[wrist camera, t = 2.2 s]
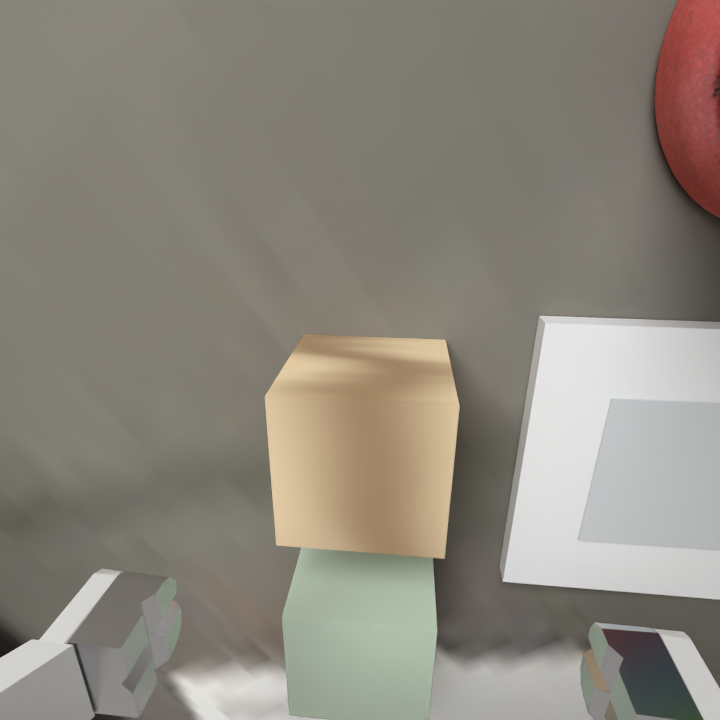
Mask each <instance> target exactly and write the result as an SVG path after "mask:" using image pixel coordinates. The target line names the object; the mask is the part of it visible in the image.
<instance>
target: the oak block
mask: <svg viewBox="0 0 720 720" xmlns="http://www.w3.org/2000/svg"><path fill="white" fill-rule="evenodd" d="M265 406H266V419H267V432H268V444H269V457H270V470H271V483H272V495H273V508H274V521H275V534H276V545H278V546H290V547H303V548H316V549H328V550H341V551H354V552H366V553H379V554H392V555H404V556H417V557H430V558H442V559H445V549H446V539H447V529H448V519H449V508H450V498H451V488H452V478H453V468H454V458H455V448H456V438H457V428H458V417H459V407H460V406H459V401H458V397H457V392H456V387H455V382H454V378H453V373H452V368H451V363H450V359H449V354H448V349H447V344H446V340H434V339H408V338H382V337H356V336H331V335H305V334H304V335H303V337H302V338H301V340H300V341H299V343H298V345H297V346H296V348H295V349H294V351H293V352H292V354H291V356H290V357H289V359H288V360H287V362H286V364H285V365H284V367H283V368H282V370H281V372H280V373H279V375H278V376H277V378H276V379H275V381H274V383H273V384H272V386H271V387H270V389H269V391H268V392H267V394H266V395H265Z"/></svg>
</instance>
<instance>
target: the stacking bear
mask: <svg viewBox="0 0 720 720" xmlns="http://www.w3.org/2000/svg"><path fill="white" fill-rule="evenodd" d="M655 113H656V123H657V131H658V135H659V139H660V143H661V146H662V149H663V152H664V154H665V157H666V159H667V162H668V164H669V166H670V168H671V170H672V172H673V174H674V175H675V177H676V178H677V180H678V181H679V183H680V184H681V186H682V187H683V188H684V189H685V190H686V192H687V193H688V194H689V195H690V197H691V198H693V199H694V200H695V201H696V202H697V203H698V204H700V205H701V206H702V207H703V208H704V209H705V210H707V211H708V212H710V213H712V214H713V215H715V216H717V217H719V218H720V0H678V2H677V4H676V6H675V9H674V11H673V13H672V16H671V19H670V22H669V25H668V28H667V31H666V34H665V37H664V40H663V44H662V47H661V50H660V56H659V62H658V67H657V73H656V84H655Z"/></svg>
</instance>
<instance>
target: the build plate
mask: <svg viewBox="0 0 720 720" xmlns="http://www.w3.org/2000/svg"><path fill="white" fill-rule="evenodd" d="M499 567H500V571H501V576H502V580H503V582H512V583H524V584H536V585H548V586H560V587H573V588H585V589H597V590H609V591H622V592H634V593H646V594H658V595H671V596H683V597H695V598H707V599H719V600H720V322H706V321H677V320H648V319H619V318H589V317H560V316H539V319H538V325H537V332H536V338H535V344H534V351H533V357H532V363H531V370H530V376H529V382H528V389H527V395H526V401H525V408H524V414H523V420H522V427H521V433H520V439H519V446H518V452H517V458H516V464H515V471H514V477H513V483H512V490H511V496H510V502H509V509H508V515H507V521H506V528H505V534H504V540H503V547H502V553H501V559H500V566H499Z"/></svg>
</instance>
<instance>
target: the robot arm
mask: <svg viewBox="0 0 720 720" xmlns="http://www.w3.org/2000/svg"><path fill="white" fill-rule="evenodd" d="M176 593H177V587H176V583H175V579H174V578H170V577H163V576H155V575H148V574H141V573H134V572H126V571H117V570H109V569H101V570H99V571H98V572H96V573H94V574H93V575H92V576H91V578H90V579H89V580H88V581H87V582H86V584H85V585H84V586H83V587H82V589H81V590H80V591H79V592H78V593H77V595H76V596H75V597H74V598H73V599H72V601H71V602H70V603H69V604H68V605H67V607H66V608H65V609H64V610H63V612H62V613H61V614H60V615H59V616H58V618H57V619H56V620H55V621H54V622H53V624H52V625H51V626H50V627H49V628H48V630H47V631H46V632H45V633H44V635H43V636H42V637H41V638H40V639H39V640H34V639H31V640H30V641H28V642H26V643H25V644H23V645H21V646H20V647H18V648H16V649H15V650H13V651H11V652H10V653H8V654H6V655H5V656H3V657H1V658H0V720H91V719H92V718H93V717H94V716H95V714H94V713H99V714H108V715H117V716H126V717H135V718H139V716H140V714H141V712H142V710H143V708H144V706H145V705H146V703H147V701H148V699H149V697H150V695H151V693H152V691H153V689H154V687H155V686H156V684H157V682H158V681H157V674H156V669H157V668H158V667H159V666H161V665H162V664H163V663H165V662H166V661H167V660H169V659H170V657H171V655H172V653H173V651H174V649H175V647H176V644H177V641H178V638H179V634H180V631H181V623H182V614H181V608H180V606H179V605H178V604H177V603H176V602H175V601H174V600H173V598H174V596H175V594H176ZM588 638H589V641H590V644H591V647H592V648H591V649H590V650H588V651H587V652H585V653H584V654H583V658H582V663H581V685H582V691H583V696H584V700H585V703H586V707H587V710H588V713H589V714H590V715H591V716H592V717H593V718H594V719H595V720H720V688H719V686H718V685H717V683H716V681H715V680H714V678H713V676H712V675H711V673H710V671H709V669H708V668H707V666H706V664H705V663H704V661H703V659H702V658H701V656H700V654H699V652H698V651H697V649H696V647H695V646H694V644H693V642H692V641H691V639H690V637H689V636H687V635H686V634H685V633H684V632H681V631H671V630H662V629H651V628H647V627H636V626H626V625H615V624H605V623H594V624H593V625H592V626H591V628H590V631H589V635H588Z"/></svg>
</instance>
